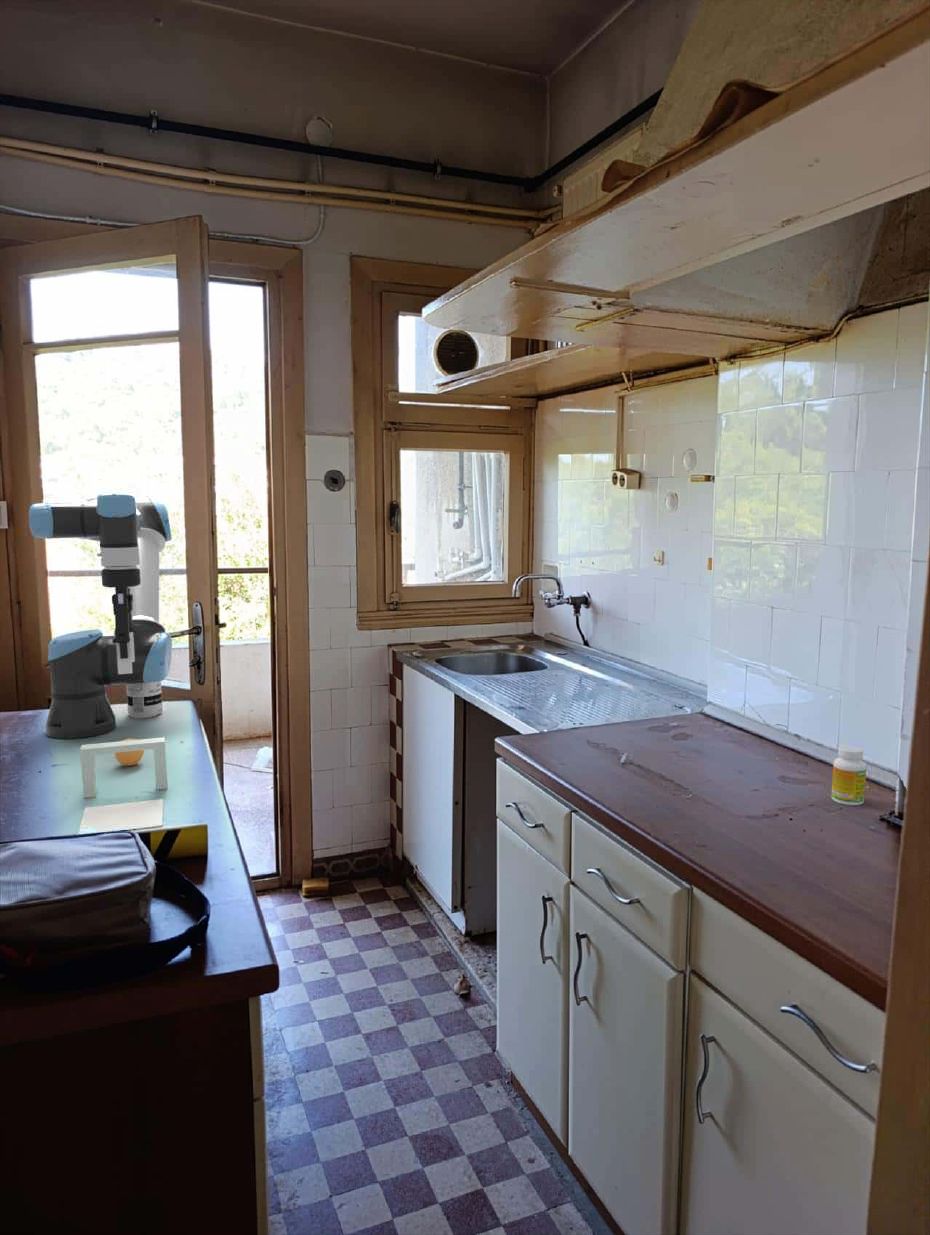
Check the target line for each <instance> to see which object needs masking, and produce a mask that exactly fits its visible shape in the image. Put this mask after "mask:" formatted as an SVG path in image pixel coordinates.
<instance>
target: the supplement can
mask: <svg viewBox="0 0 930 1235" xmlns="http://www.w3.org/2000/svg"><path fill="white" fill-rule="evenodd" d="M125 687H126V688H125V690H126V703H127V714H128V715H129V716H132V718H137V719H148V718H152V717H151V716H154V717H156V716H155V715H157V716H159V715H161V713H162V712H163V711H164V708H163V707H164V706H163V691H162V690H163V689H162V681H159V682H150V683H148V684H145V683H135V684H125ZM158 714H159V715H158ZM147 717H148V718H147Z"/></svg>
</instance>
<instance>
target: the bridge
mask: <svg viewBox="0 0 930 1235" xmlns="http://www.w3.org/2000/svg"><path fill="white" fill-rule="evenodd" d="M137 750H153V760H154V762H153V764H154V777H155V790H156V791H157V790H159V789H160V790H166V789H168V772H167V771H168V769H167V768H168V767H167V755H166V751H167V750H166V737H154V738H144V739H135V740H130V741H123V740H121V741H111V742H101V743H100V742H99V743H89V744H81V746H80V748H79V751H80V752H79V753H80V766H81V768H80V770H81V779H82V780H81V781H82V793H83V799H86V798H85V797H88V798H96V796H97V793H98V792H97V790H98V788H97V787H98V786H97V775H96V761H95V760H96V759H95V755H104V754H115V753H116V752H127V751H137ZM160 790H159V791H160ZM96 792H97V793H96Z"/></svg>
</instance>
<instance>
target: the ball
mask: <svg viewBox="0 0 930 1235" xmlns="http://www.w3.org/2000/svg"><path fill="white" fill-rule="evenodd" d="M130 740H136V739H135V738H127V739H126V738H125V739H123V740H122V741H130ZM144 753H145V751H144V750H137V751H127V752H116V753H114V756H115V759H116V761H117V762H118V763H119V764H121V765H122V766H125V767H126V766H127V767H128V766H130V767H131V766H135V765H137V764H138V763H139V762H140V761H141V760H142V758H144Z"/></svg>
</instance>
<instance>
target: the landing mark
mask: <svg viewBox="0 0 930 1235" xmlns="http://www.w3.org/2000/svg"><path fill="white" fill-rule="evenodd" d="M163 806H164V798H159V799H150V800H141V801H132V802H125V803H124V802H123V803H114V804H108V805H107V804H106V805H105V804H104V805H98V806H97V805H96V806H90V807H89V806H87V807H85V808H84V810H83V814H82V818H81V821H80V825H79V828H78V832H77V835H78V834H85V833H87V832H85V831H84V832H83V831H81V832H80V831H79V829H88V826H90V827H91V828H92V827H94V829H99V830H96V831H95V832H105V831H107V830H115V829H129V830H128V831H134V830H133V829H136V830H143V829H150V828H151V829H153V828H157V827H158V828H159V827H163V814H164V813H163V812H164V809H163V808H164V807H163ZM93 813H94V814H93ZM83 821H84V822H83ZM80 826H87V827H80ZM89 829H90V828H89ZM92 829H93V828H92Z"/></svg>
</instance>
